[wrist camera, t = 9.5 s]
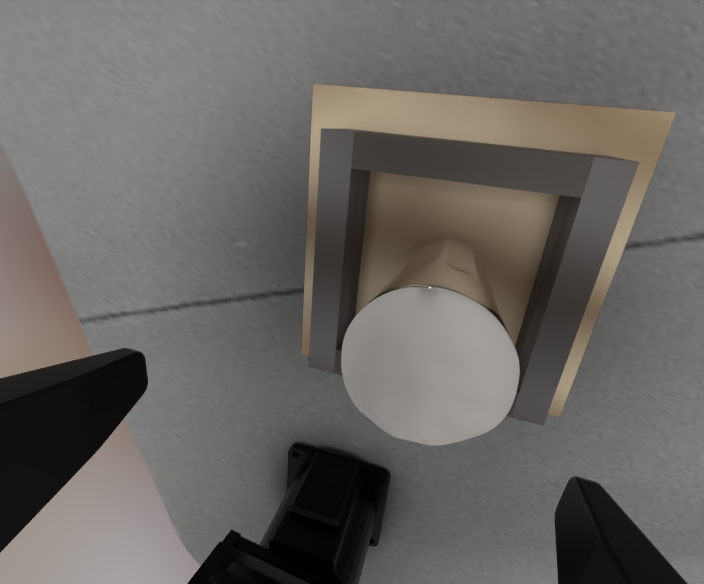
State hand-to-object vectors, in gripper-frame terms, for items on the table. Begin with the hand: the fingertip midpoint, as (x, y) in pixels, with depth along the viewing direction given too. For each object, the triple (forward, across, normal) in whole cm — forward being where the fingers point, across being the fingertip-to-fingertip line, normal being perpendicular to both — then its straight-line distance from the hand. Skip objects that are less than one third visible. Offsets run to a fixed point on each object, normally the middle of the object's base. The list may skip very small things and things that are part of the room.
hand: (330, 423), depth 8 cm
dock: (+12, -2, 0) cm, 12 cm away
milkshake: (+11, -2, 0) cm, 11 cm away
